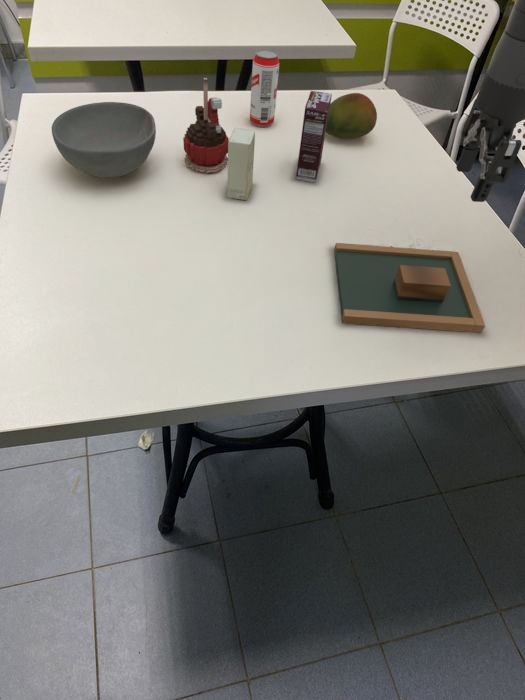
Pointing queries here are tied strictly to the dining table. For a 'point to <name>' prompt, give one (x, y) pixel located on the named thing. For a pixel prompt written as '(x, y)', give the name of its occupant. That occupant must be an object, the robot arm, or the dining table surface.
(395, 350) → the dining table surface
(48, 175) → the dining table surface
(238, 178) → the cosmetic box
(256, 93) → the beer can
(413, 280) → the eraser
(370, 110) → the fruit
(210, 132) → the cake
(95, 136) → the bowl
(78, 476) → the chalk
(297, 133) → the dining table surface
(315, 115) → the supplement box
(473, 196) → the robot arm
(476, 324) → the slate board
